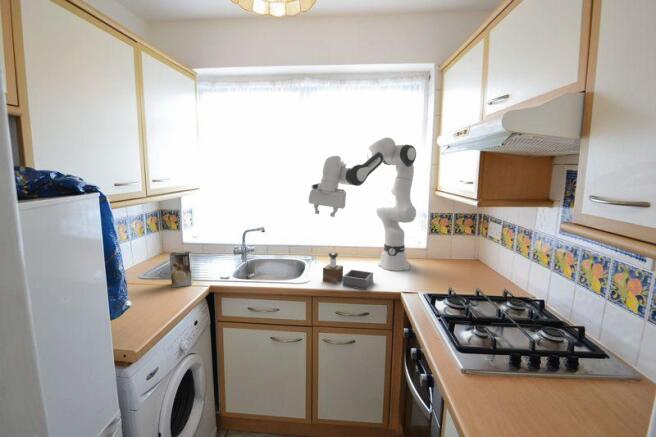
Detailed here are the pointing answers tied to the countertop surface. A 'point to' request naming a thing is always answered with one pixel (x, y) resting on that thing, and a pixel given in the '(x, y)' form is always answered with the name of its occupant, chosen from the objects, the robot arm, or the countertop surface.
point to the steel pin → (333, 259)
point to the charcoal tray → (358, 279)
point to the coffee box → (181, 269)
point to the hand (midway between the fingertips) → (324, 215)
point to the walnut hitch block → (333, 274)
